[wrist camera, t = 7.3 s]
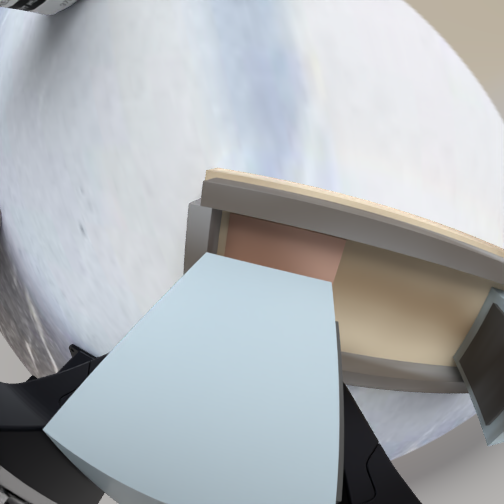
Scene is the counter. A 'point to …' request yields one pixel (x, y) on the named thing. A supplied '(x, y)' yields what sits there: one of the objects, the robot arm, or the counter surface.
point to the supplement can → (38, 5)
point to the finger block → (217, 395)
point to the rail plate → (373, 282)
